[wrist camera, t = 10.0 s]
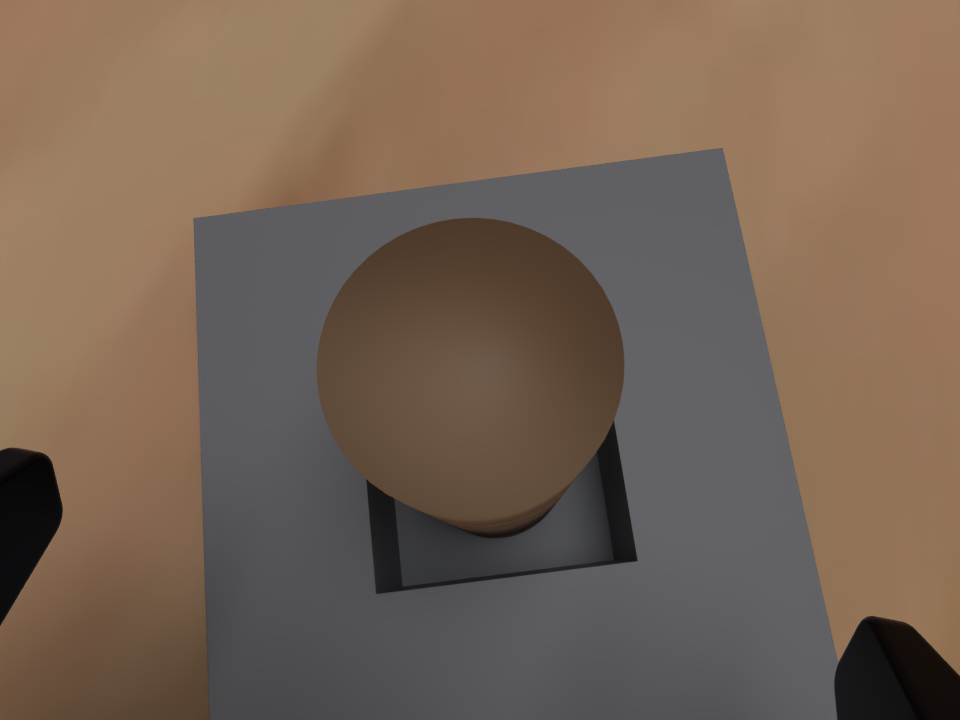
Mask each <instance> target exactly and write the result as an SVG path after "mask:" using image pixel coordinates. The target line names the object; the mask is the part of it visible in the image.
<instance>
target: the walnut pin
mask: <svg viewBox="0 0 960 720" xmlns="http://www.w3.org/2000/svg"><path fill="white" fill-rule="evenodd" d="M624 365H625V361H624V350H623V341H622V337H621V332H620V328H619V324H618V321H617V318H616V316H615V313H614V310H613V308H612V305H611V303H610V301H609V299H608V298H607V296H606V294H605V292H604V290H603V288H602V287H601V285H600V284H599V283H598V281H597V280H596V279H595V277H594V276H593V274H592V273H591V272H590V271H589V270H588V269H587V268H586V267H585V266H584V264H583V263H582V262H581V261H580V260H579V259H578V258H577V257H575V256H574V255H573V254H572V253H571V252H569V251H568V250H567V249H566V248H564V247H563V246H562V245H560V244H558V243H557V242H555V241H554V240H552V239H550V238H549V237H547V236H545V235H543V234H541V233H539V232H536V231H534V230H532V229H530V228H527V227H524V226H521V225H518V224H515V223H511V222H506V221H501V220H496V219H486V218H459V219H450V220H445V221H439V222H434V223H431V224H428V225H425V226H421V227H418V228H415V229H413V230H411V231H409V232H406V233H404V234H402V235H400V236H398V237H396V238H395V239H393V240H391V241H390V242H388V243H386V244H385V245H383V246H382V247H380V248H379V249H378V250H377V251H375V252H374V253H373V254H371V255H370V256H369V257H368V258H367V259H366V260H365V261H364V262H363V263H362V264H361V265H360V266H359V267H358V268H357V269H356V270H355V271H354V272H353V273H352V274H351V276H350V277H349V278H348V280H347V281H346V282H345V283H344V285H343V286H342V288H341V289H340V291H339V293H338V294H337V296H336V298H335V299H334V301H333V303H332V305H331V308H330V310H329V312H328V315H327V317H326V319H325V322H324V326H323V329H322V333H321V336H320V340H319V347H318V354H317V384H318V393H319V399H320V402H321V406H322V410H323V414H324V417H325V419H326V422H327V424H328V427H329V429H330V432H331V434H332V436H333V437H334V439H335V441H336V443H337V444H338V446H339V448H340V449H341V451H342V452H343V454H344V455H345V456H346V458H347V459H348V460H349V461H350V463H351V464H352V465H353V466H354V468H355V469H356V470H357V471H359V472H360V473H361V474H362V475H363V476H364V477H365V478H366V479H367V480H368V481H369V482H370V483H372V484H373V485H374V486H376V487H377V488H378V489H380V490H381V491H383V492H384V493H385V494H387V495H389V496H391V497H393V498H395V499H396V500H398V501H400V502H402V503H404V504H406V505H408V506H410V507H413V508H415V509H417V510H419V511H421V512H424V513H426V514H428V515H430V516H432V517H434V518H437V519H439V520H441V521H443V522H445V523H447V524H450V525H452V526H454V527H456V528H458V529H461V530H463V531H465V532H467V533H470V534H473V535H475V536H480V537H484V538H506V537H511V536H515V535H518V534H521V533H523V532H525V531H527V530H529V529H531V528H532V527H534V526H535V525H537V524H538V523H539V522H540V521H541V520H543V519H544V518H545V517H546V515H547V514H548V513H549V512H550V511H551V510H552V508H553V507H554V506H555V504H556V503H557V502H558V501H559V499H560V498H561V497H562V496H563V494H564V493H565V492H566V490H567V489H568V488H569V487H570V485H571V484H572V483H573V482H574V480H575V479H576V478H577V476H578V475H579V474H580V473H581V471H582V470H583V469H584V468H585V466H586V465H587V464H588V462H589V461H590V460H591V459H592V457H593V456H594V455H595V453H596V452H597V450H598V449H599V447H600V446H601V444H602V443H603V441H604V440H605V438H606V436H607V434H608V432H609V430H610V428H611V425H612V423H613V421H614V419H615V416H616V413H617V410H618V406H619V403H620V399H621V394H622V389H623V383H624Z"/></svg>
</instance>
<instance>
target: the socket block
mask: <svg viewBox="0 0 960 720" xmlns="http://www.w3.org/2000/svg"><path fill="white" fill-rule="evenodd" d="M459 218H486V219H496V220H501V221H506V222H511V223H515V224H518V225H521V226H524V227H527V228H530V229H532V230H534V231H536V232H539V233H541V234H543V235H545V236H547V237H549V238H550V239H552V240H554V241H555V242H557V243H558V244H560V245H562V246H563V247H564V248H566V249H567V250H568V251H569V252H571V253H572V254H573V255H574V256H575V257H577V258H578V259H579V260H580V261H581V262H582V263H583V264H584V266H585V267H586V268H587V269H588V270H589V271H590V272H591V273H592V274H593V276H594V277H595V279H596V280H597V281H598V283H599V284H600V285H601V287H602V288H603V290H604V292H605V294H606V296H607V298H608V299H609V301H610V303H611V305H612V308H613V310H614V313H615V316H616V318H617V321H618V324H619V328H620V332H621V337H622V341H623V350H624V361H625V365H624V383H623V389H622V394H621V399H620V403H619V406H618V410H617V413H616V416H615V419H614V421H613V423H612V425H611V428H610V430H609V432H608V434H607V436H606V438H605V440H604V441H603V443H602V444H601V446H600V447H599V449H598V450H597V452H596V453H595V455H594V456H593V457H592V459H591V460H590V461H589V462H588V464H587V465H586V466H585V468H584V469H583V470H582V471H581V473H580V474H579V475H578V476H577V478H576V479H575V480H574V482H573V483H572V484H571V485H570V487H569V488H568V489H567V490H566V492H565V493H564V494H563V496H562V497H561V498H560V499H559V501H558V502H557V503H556V504H555V506H554V507H553V508H552V510H551V511H550V512H549V513H548V514H547V515H546V517H545V518H544V519H543V520H541V521H540V522H539V523H538V524H537V525H535V526H534V527H532V528H531V529H529V530H527V531H525V532H523V533H521V534H518V535H515V536H511V537H506V538H484V537H480V536H475V535H473V534H470V533H467V532H465V531H463V530H461V529H458V528H456V527H454V526H452V525H450V524H447V523H445V522H443V521H441V520H439V519H437V518H434V517H432V516H430V515H428V514H426V513H424V512H421V511H419V510H417V509H415V508H413V507H410V506H408V505H406V504H404V503H402V502H400V501H398V500H396V499H395V498H393V497H391V496H389V495H387V494H385V493H384V492H383V491H381V490H380V489H378V488H377V487H376V486H374V485H373V484H372V483H370V482H369V481H368V480H367V479H366V478H365V477H364V476H363V475H362V474H361V473H360V472H359V471H357V470H356V469H355V468H354V466H353V465H352V464H351V463H350V461H349V460H348V459H347V458H346V456H345V455H344V454H343V452H342V451H341V449H340V448H339V446H338V444H337V443H336V441H335V439H334V437H333V436H332V434H331V432H330V429H329V427H328V424H327V422H326V419H325V417H324V414H323V410H322V406H321V402H320V399H319V393H318V384H317V354H318V347H319V340H320V336H321V333H322V329H323V326H324V322H325V319H326V317H327V315H328V312H329V310H330V308H331V305H332V303H333V301H334V299H335V298H336V296H337V294H338V293H339V291H340V289H341V288H342V286H343V285H344V283H345V282H346V281H347V280H348V278H349V277H350V276H351V274H352V273H353V272H354V271H355V270H356V269H357V268H358V267H359V266H360V265H361V264H362V263H363V262H364V261H365V260H366V259H367V258H368V257H369V256H370V255H371V254H373V253H374V252H375V251H377V250H378V249H379V248H380V247H382V246H383V245H385V244H386V243H388V242H390V241H391V240H393V239H395V238H396V237H398V236H400V235H402V234H404V233H406V232H409V231H411V230H413V229H415V228H418V227H421V226H425V225H428V224H431V223H434V222H439V221H445V220H450V219H459ZM194 247H195V279H196V310H197V342H198V374H199V406H200V437H201V469H202V501H203V532H204V564H205V596H206V628H207V659H208V691H209V720H837V713H836V703H835V692H834V678H835V672H836V668H837V665H838V661H837V656H836V652H835V648H834V643H833V639H832V634H831V630H830V625H829V621H828V616H827V612H826V607H825V603H824V598H823V594H822V590H821V585H820V581H819V576H818V572H817V567H816V563H815V558H814V554H813V549H812V545H811V540H810V536H809V532H808V527H807V523H806V518H805V514H804V509H803V505H802V500H801V496H800V491H799V487H798V482H797V478H796V473H795V469H794V465H793V460H792V456H791V451H790V447H789V442H788V438H787V433H786V429H785V424H784V420H783V415H782V411H781V407H780V402H779V398H778V393H777V389H776V384H775V380H774V375H773V371H772V366H771V362H770V357H769V353H768V349H767V344H766V340H765V335H764V331H763V326H762V322H761V317H760V313H759V308H758V304H757V299H756V295H755V290H754V286H753V282H752V277H751V273H750V268H749V264H748V259H747V255H746V250H745V246H744V241H743V237H742V232H741V228H740V224H739V219H738V215H737V210H736V206H735V201H734V197H733V192H732V188H731V183H730V179H729V174H728V170H727V166H726V161H725V157H724V152H723V148H718V149H711V150H703V151H696V152H688V153H681V154H673V155H666V156H658V157H651V158H643V159H636V160H628V161H621V162H613V163H606V164H598V165H591V166H583V167H576V168H568V169H561V170H553V171H546V172H538V173H531V174H523V175H516V176H508V177H501V178H493V179H486V180H478V181H471V182H463V183H456V184H448V185H441V186H433V187H426V188H418V189H411V190H403V191H396V192H388V193H381V194H373V195H366V196H358V197H351V198H343V199H336V200H328V201H321V202H313V203H306V204H298V205H291V206H283V207H276V208H268V209H261V210H253V211H246V212H238V213H231V214H223V215H216V216H208V217H200V218H194Z"/></svg>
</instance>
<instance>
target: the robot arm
mask: <svg viewBox="0 0 960 720" xmlns="http://www.w3.org/2000/svg"><path fill="white" fill-rule="evenodd" d="M62 511H63V507H62V502H61V498H60V493H59V489H58V485H57V481H56V476H55V472H54V468H53V464H52V461H51V460H50V458H49V457H48V456H47V455H45V454H43V453H41V452H36V451H31V450H26V449H20V448H7V449H4V450H1V451H0V625H1V624H2V622H3V620H4V619H5V617H6V615H7V614H8V612H9V610H10V609H11V607H12V605H13V604H14V602H15V600H16V599H17V597H18V595H19V593H20V592H21V590H22V588H23V587H24V585H25V583H26V582H27V580H28V578H29V577H30V575H31V573H32V572H33V570H34V568H35V567H36V565H37V563H38V562H39V560H40V558H41V557H42V555H43V553H44V552H45V550H46V548H47V547H48V545H49V543H50V541H51V540H52V538H53V536H54V535H55V533H56V531H57V529H58V527H59V525H60V522H61V519H62ZM834 692H835V703H836V713H837V720H960V676H959V675H958V673H957V672H956V671H955V670H954V669H953V668H952V667H951V666H950V665H949V664H948V663H947V662H946V661H945V660H944V659H943V658H942V657H941V656H940V655H939V654H938V653H937V651H936V650H935V649H934V648H933V647H932V646H931V645H930V644H929V643H928V642H927V641H926V640H925V639H924V638H923V637H922V636H921V635H920V634H919V633H918V632H917V631H916V630H915V629H914V628H913V627H912V626H910V625H909V624H907V623H904V622H901V621H896V620H891V619H886V618H881V617H876V616H868V617H866V618H864V619H863V620H862V621H861V622H860V624H859V625H858V627H857V629H856V631H855V633H854V635H853V636H852V638H851V640H850V642H849V644H848V646H847V648H846V650H845V652H844V653H843V655H842V657H841V659H840V661H839V663H838V665H837V668H836V672H835V678H834Z"/></svg>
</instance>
